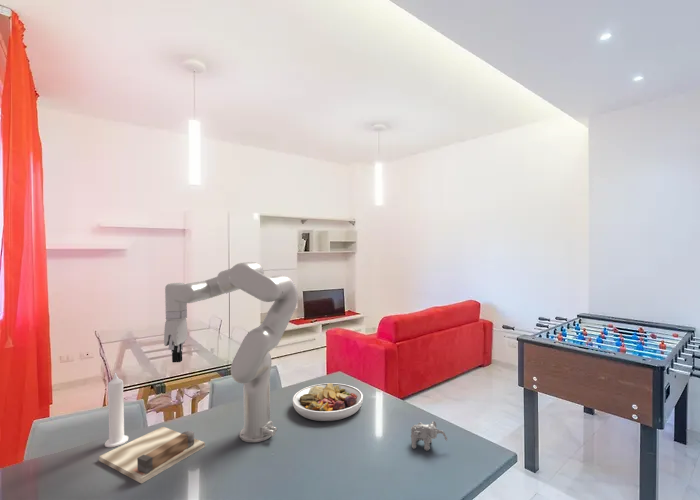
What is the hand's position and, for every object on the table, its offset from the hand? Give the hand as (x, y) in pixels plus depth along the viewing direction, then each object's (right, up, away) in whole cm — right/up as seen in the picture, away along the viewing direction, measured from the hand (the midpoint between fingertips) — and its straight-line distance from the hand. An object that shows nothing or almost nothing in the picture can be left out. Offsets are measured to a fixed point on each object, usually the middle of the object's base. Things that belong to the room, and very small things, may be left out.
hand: (177, 361), depth 138 cm
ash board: (+1, -25, -19) cm, 31 cm away
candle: (-16, -26, -11) cm, 32 cm away
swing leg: (+9, -23, -23) cm, 34 cm away
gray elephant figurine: (+94, -24, -17) cm, 99 cm away
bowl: (+58, -25, +14) cm, 65 cm away
